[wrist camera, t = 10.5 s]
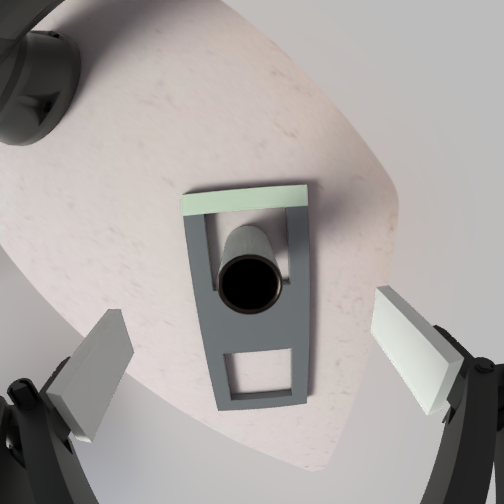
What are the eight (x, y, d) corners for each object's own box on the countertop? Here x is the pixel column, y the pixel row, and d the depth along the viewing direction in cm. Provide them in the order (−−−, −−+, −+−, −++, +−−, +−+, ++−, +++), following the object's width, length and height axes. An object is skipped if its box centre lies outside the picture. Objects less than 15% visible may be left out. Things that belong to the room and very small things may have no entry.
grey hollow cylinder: (235, 218, 28) (230, 243, 18) (276, 234, 29) (294, 268, 19) (218, 258, 29) (207, 302, 20) (259, 274, 30) (267, 323, 20)
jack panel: (183, 194, 28) (180, 195, 26) (303, 184, 28) (306, 184, 26) (218, 404, 35) (218, 411, 34) (305, 397, 35) (306, 404, 34)
